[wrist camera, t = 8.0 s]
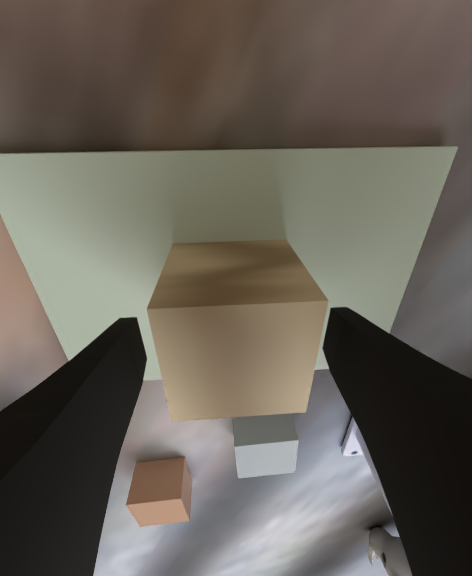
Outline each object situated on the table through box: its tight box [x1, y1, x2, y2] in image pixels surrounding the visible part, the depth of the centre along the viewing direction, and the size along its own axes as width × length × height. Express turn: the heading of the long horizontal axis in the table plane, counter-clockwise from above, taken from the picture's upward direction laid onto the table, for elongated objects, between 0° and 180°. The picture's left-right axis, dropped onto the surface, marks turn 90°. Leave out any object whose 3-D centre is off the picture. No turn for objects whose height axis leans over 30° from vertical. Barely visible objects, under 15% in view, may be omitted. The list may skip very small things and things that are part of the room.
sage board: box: [0, 146, 458, 381], centre depth 13 cm, size 18×12×1 cm, turn 91°
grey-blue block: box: [233, 413, 299, 478], centre depth 18 cm, size 4×4×3 cm
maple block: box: [147, 240, 329, 422], centre depth 11 cm, size 5×5×5 cm
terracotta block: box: [126, 457, 192, 527], centre depth 21 cm, size 4×4×3 cm
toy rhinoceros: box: [367, 527, 412, 576], centre depth 29 cm, size 7×12×8 cm, turn 118°
